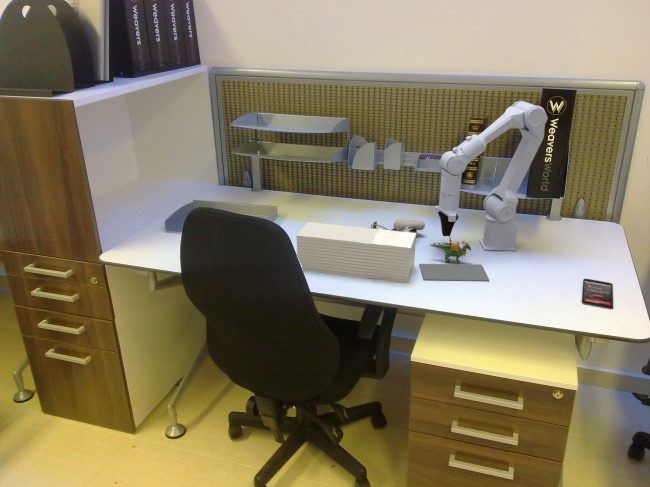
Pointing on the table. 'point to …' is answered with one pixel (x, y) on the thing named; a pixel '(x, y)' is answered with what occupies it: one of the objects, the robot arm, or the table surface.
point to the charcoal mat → (453, 272)
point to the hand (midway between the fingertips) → (446, 235)
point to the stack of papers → (357, 251)
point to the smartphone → (597, 293)
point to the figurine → (453, 249)
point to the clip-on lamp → (405, 225)
